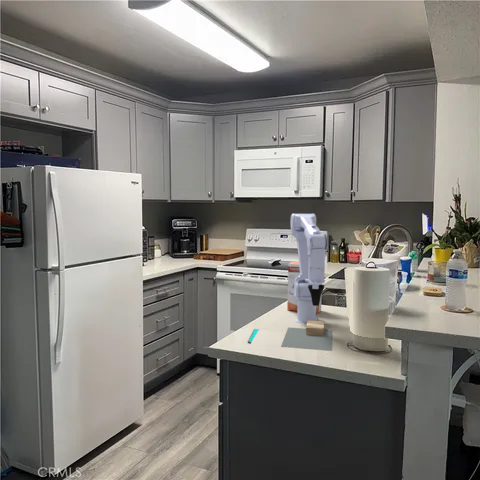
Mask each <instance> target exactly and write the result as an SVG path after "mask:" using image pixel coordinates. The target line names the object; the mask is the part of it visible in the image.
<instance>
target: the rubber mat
mask: <svg viewBox="0 0 480 480" xmlns="http://www.w3.org/2000/svg"><path fill="white" fill-rule="evenodd" d="M280 347H281V348H291V349H292V348H293V349H304V350H305V349H306V350H317V351H330V352H332V351H333V330H331V329H324V335H323V336H320V335H306V328H303V327H302V328H301V327H287V330H286V332H285V335H284V338H283V341H282V343H281V345H280Z"/></svg>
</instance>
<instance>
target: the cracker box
mask: <svg viewBox="0 0 480 480" xmlns="http://www.w3.org/2000/svg"><path fill="white" fill-rule="evenodd" d="M287 266H288V267H287V268H288V269H287V304H286V305H287V311H295V312H298V299H297V298H296V297H295V296H294V280H295V278H296V277H298V276H299V275H300V268H299V261H297V262H296V261H290V262H289V263H287ZM320 285H323V284H320ZM322 296H323V292H322V293H321V297H320V303H319V306H316V314H319V313H320V312H321V311H322V298H323V297H322Z"/></svg>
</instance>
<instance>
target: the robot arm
mask: <svg viewBox="0 0 480 480" xmlns="http://www.w3.org/2000/svg"><path fill="white" fill-rule="evenodd" d="M289 222H290V233H291V236H293V237H294V238H295V239H296V246H297V255H298V257H297V258H298V262H299V268H300V275H299V276H298V277H296V278H295V280H294V296H295V297H296V298H297V299H298V311H296V312H297V313H296V315H297V316H296V319H295V323H302V324H305V323H306V324H307V321H308V320H316V321H318V316H317V313H316V306H319V303H320V297H321V293H322V294H323V291H324V290H325V283H326V280H325V279H326V278H325V277H326V275H325V274H326V272H325V269H326V251H327V250H328V249H327V248H328V243H329V242H328V237H327V236H328V235H327V234H326V233H322V232H321V229H320V228H319V227H318V226H317V216H316V214H315V213H295V212H294V213H292V214H291V215H290V221H289ZM320 284H322V285H320Z"/></svg>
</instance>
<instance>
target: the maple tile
mask: <svg viewBox="0 0 480 480" xmlns="http://www.w3.org/2000/svg"><path fill="white" fill-rule="evenodd" d="M305 329H306V335H320V336H323V335H324V330H325V320H317V321H316V320H308V321H307V323H306V326H305Z"/></svg>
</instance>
